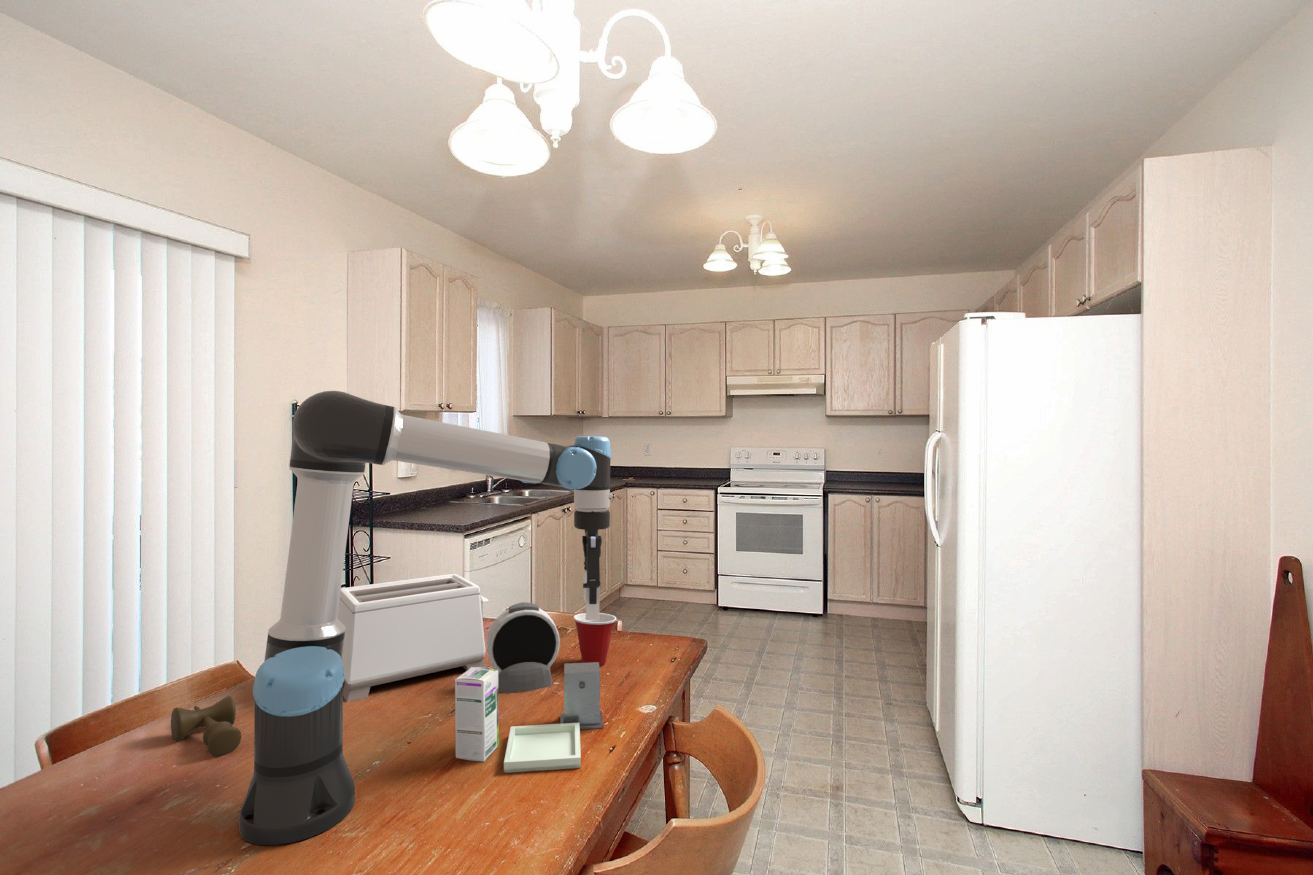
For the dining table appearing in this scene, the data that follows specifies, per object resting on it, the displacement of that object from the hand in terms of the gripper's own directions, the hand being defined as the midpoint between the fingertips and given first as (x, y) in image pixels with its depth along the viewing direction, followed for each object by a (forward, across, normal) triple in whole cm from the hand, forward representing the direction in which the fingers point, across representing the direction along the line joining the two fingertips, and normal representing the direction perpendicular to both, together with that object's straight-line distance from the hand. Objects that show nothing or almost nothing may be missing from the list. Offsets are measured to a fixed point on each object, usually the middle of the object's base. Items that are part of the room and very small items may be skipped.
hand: (591, 609), depth 131 cm
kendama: (+21, -4, +72) cm, 75 cm away
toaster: (+21, +25, +41) cm, 53 cm away
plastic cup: (+21, +25, -2) cm, 33 cm away
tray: (+21, -17, +9) cm, 28 cm away
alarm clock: (+21, +15, +15) cm, 30 cm away
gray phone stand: (+21, -6, +2) cm, 22 cm away
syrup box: (+21, -16, +21) cm, 34 cm away
